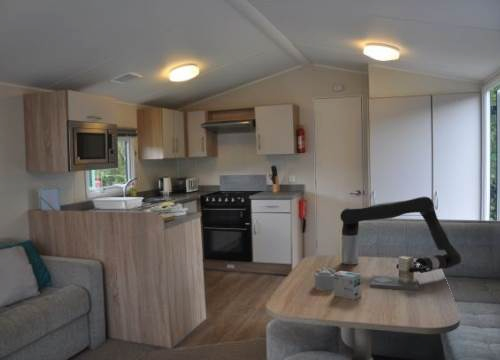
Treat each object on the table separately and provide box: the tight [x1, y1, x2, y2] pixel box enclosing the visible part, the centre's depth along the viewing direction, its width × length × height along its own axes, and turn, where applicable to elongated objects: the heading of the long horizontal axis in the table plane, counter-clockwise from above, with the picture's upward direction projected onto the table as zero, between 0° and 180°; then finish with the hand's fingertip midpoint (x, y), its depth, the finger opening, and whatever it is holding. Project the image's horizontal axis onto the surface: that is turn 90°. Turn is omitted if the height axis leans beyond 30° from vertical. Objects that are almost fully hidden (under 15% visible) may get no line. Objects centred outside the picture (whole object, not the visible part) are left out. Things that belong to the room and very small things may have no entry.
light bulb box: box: [333, 270, 362, 301], centre depth 198 cm, size 11×7×11 cm, turn 47°
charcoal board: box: [369, 274, 420, 292], centre depth 214 cm, size 22×16×2 cm
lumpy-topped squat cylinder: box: [314, 267, 337, 291], centre depth 214 cm, size 10×13×9 cm
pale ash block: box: [397, 255, 415, 283], centre depth 212 cm, size 5×5×12 cm
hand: (403, 268), depth 211 cm, fingers open, 8 cm apart
